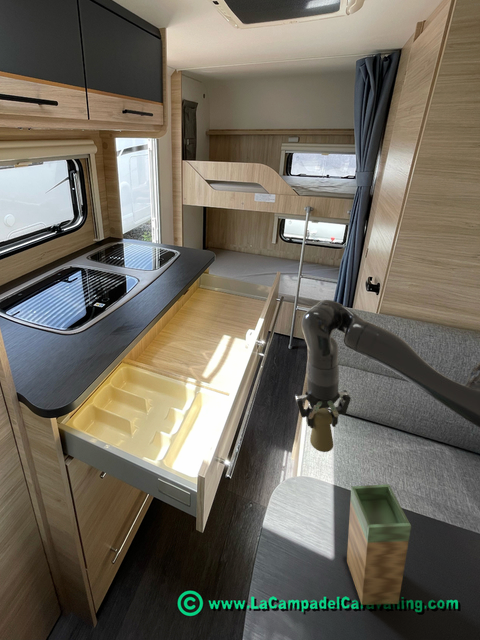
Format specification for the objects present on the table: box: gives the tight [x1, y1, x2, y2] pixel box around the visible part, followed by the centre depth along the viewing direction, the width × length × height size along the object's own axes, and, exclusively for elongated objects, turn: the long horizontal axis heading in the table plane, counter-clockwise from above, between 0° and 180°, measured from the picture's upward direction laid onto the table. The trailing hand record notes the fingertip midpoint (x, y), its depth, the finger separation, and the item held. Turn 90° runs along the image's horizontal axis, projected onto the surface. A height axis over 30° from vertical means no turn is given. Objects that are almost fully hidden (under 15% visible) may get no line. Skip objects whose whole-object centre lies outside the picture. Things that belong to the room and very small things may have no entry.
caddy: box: [346, 483, 412, 606], centre depth 77 cm, size 9×9×30 cm
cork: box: [309, 408, 334, 453], centre depth 88 cm, size 6×6×11 cm
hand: (321, 424), depth 87 cm, fingers closed on cork, 5 cm apart
